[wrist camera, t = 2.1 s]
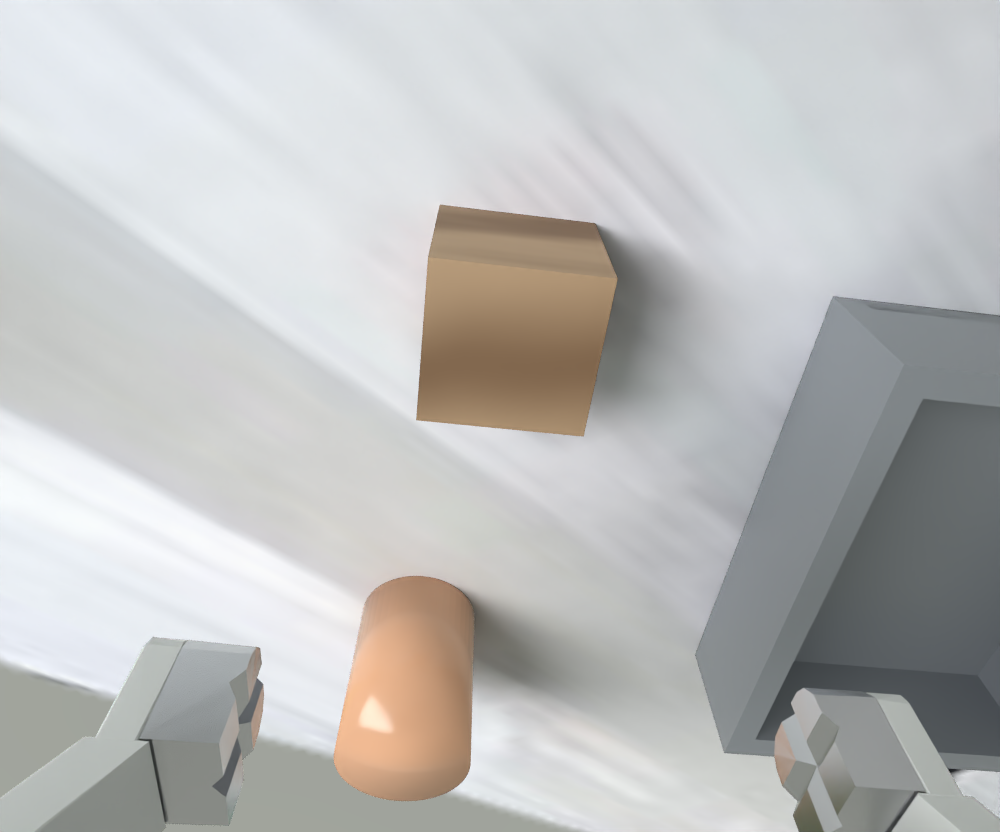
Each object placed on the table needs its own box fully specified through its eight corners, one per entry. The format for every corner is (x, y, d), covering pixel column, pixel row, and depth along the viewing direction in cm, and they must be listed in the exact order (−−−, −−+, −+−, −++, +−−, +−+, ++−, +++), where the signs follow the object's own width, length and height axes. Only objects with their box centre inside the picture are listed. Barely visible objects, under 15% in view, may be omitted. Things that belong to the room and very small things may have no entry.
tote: (832, 296, 25) (903, 364, 20) (1214, 340, 26) (1357, 413, 21) (695, 654, 34) (724, 753, 30) (978, 676, 35) (1045, 775, 31)
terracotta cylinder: (364, 571, 31) (333, 714, 25) (480, 581, 32) (477, 723, 26) (361, 650, 34) (333, 796, 28) (468, 658, 34) (464, 804, 28)
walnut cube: (439, 204, 23) (428, 257, 19) (594, 222, 23) (617, 278, 19) (428, 345, 26) (416, 420, 21) (568, 359, 26) (583, 436, 22)
